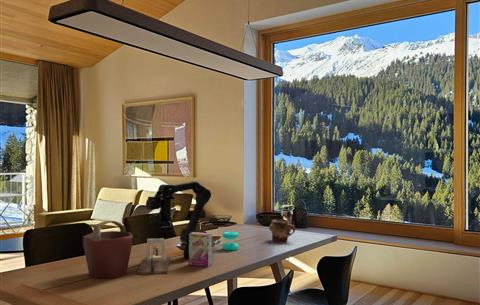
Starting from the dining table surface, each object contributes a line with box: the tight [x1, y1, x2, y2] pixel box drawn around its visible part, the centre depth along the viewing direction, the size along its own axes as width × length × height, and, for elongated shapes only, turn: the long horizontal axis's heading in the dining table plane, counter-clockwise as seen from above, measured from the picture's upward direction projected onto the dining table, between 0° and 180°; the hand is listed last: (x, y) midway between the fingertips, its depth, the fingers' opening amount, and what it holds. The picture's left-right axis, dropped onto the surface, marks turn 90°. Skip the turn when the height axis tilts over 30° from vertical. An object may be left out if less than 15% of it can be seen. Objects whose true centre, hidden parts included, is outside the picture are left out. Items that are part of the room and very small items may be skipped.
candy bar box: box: [188, 232, 213, 268], centre depth 226 cm, size 11×5×16 cm, turn 71°
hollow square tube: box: [146, 237, 166, 261], centre depth 232 cm, size 9×5×11 cm, turn 96°
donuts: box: [221, 231, 240, 251], centre depth 265 cm, size 10×10×10 cm
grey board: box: [136, 255, 171, 275], centre depth 224 cm, size 14×31×1 cm, turn 6°
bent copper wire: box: [151, 245, 159, 271], centre depth 223 cm, size 1×29×9 cm, turn 6°
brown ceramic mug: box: [268, 219, 296, 243], centre depth 290 cm, size 20×12×14 cm, turn 56°
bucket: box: [82, 220, 134, 280], centre depth 208 cm, size 24×22×25 cm
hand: (165, 237), depth 233 cm, fingers open, 9 cm apart
